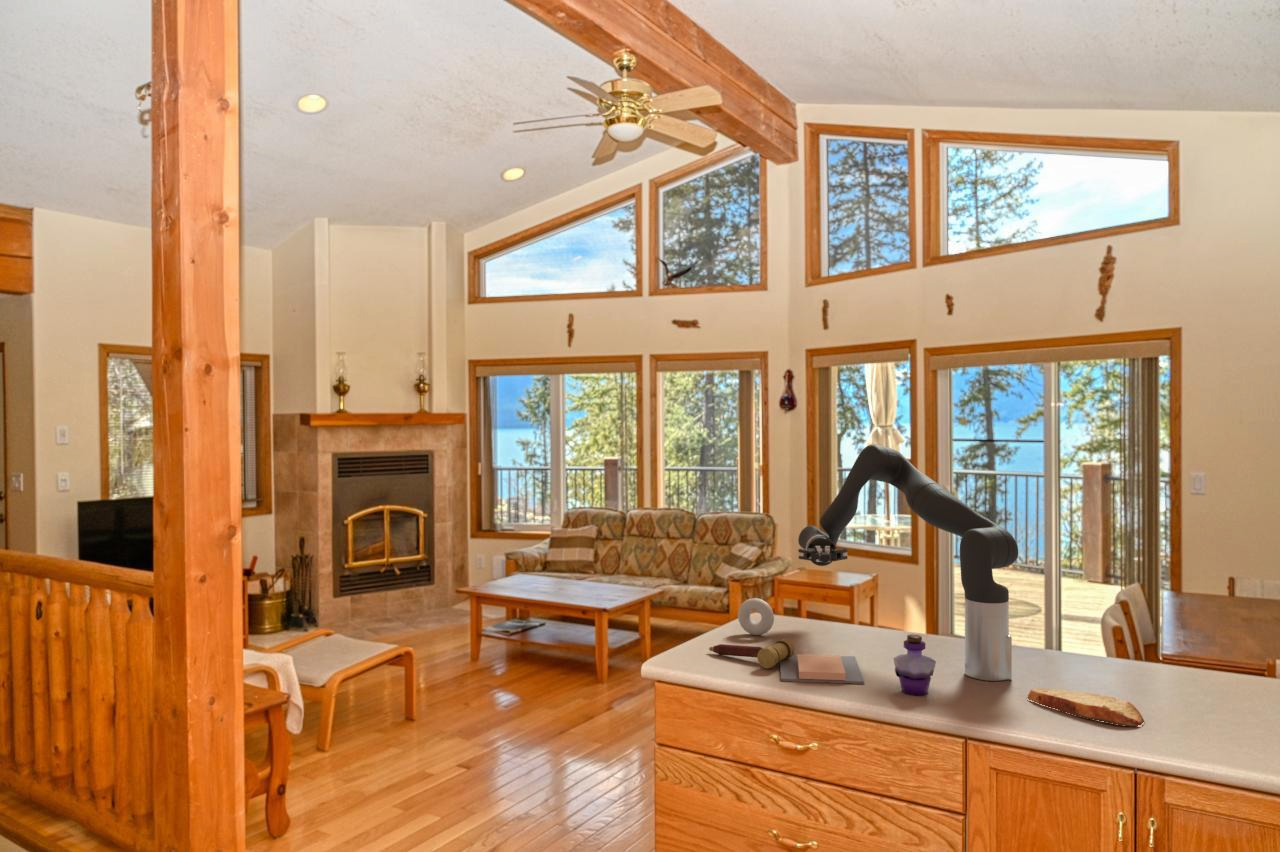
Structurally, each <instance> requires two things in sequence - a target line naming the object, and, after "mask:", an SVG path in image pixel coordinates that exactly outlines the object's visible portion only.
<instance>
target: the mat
mask: <svg viewBox="0 0 1280 852" xmlns="http://www.w3.org/2000/svg"><path fill="white" fill-rule="evenodd" d="M797 654H798V653H796V654H795V653H794V654H793V656H792V657H790V658H788V659H786V660H781V661H779V672H781V673H780V681H781V682H789V681H791V682H795V683H796V682H797V683H816V682H830V683H829V684H842V683H852V684H851V685H865V679H864V678H863V674H862V672H861V669H860V666H859V664H858V661H857V659H856V656H853V655H851V656H849V655H839V656H840V657H841V660H842V663H843V666H844V670H845V673H846V680H819V679H799V673H798V664H797Z"/></svg>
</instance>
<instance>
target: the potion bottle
mask: <svg viewBox="0 0 1280 852" xmlns="http://www.w3.org/2000/svg"><path fill="white" fill-rule="evenodd" d="M922 639H923V637H922V636H921V635H918V634H908V635H906V640H904V641H903V648H905V649H906V650H907V653H905V654H904V653H903V654H899V655H896V656H894V657H893V658H892V659H893V662H894V666H895V667H894V672H895V675H896V677H898V680H899V684H900V689H901V691H900V692H902V693H903V694H904V695H908V696H912V697H925V696H927V695H928V694H929V689H930V683H931V680H932V676H934V671H935V668H936V663H937V661H936V660H934V659H933V658H932V657H930V656H927V655H923V653H922V651H924V650H925V649H926V642H925V641H923V640H922Z"/></svg>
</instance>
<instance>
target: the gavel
mask: <svg viewBox="0 0 1280 852" xmlns="http://www.w3.org/2000/svg"><path fill="white" fill-rule="evenodd" d="M708 650H709V651H710V652H713V653H715V654H718V655H719V656H731V657H732V656H733V657H744V658H745V657H747V658H756V659H757V662H758V663H759V665H760V666H761V667H762V668H764V669H771V668H773V667H775V666H776V665H777V664H778V663H780V661H781V660H786V659H788V658H790V657H792V656H793V654H795V647H794V644H793V643H792V641H790V640H788V639H787V638H782V639H779V640H778V641H776V642H775V643H774V644H773V645H771V646H765V647H762V646H754V645H752V646H751V645H740V644H739V645H737V644H720V643H719V644H717V645H713V646H709V648H708Z"/></svg>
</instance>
